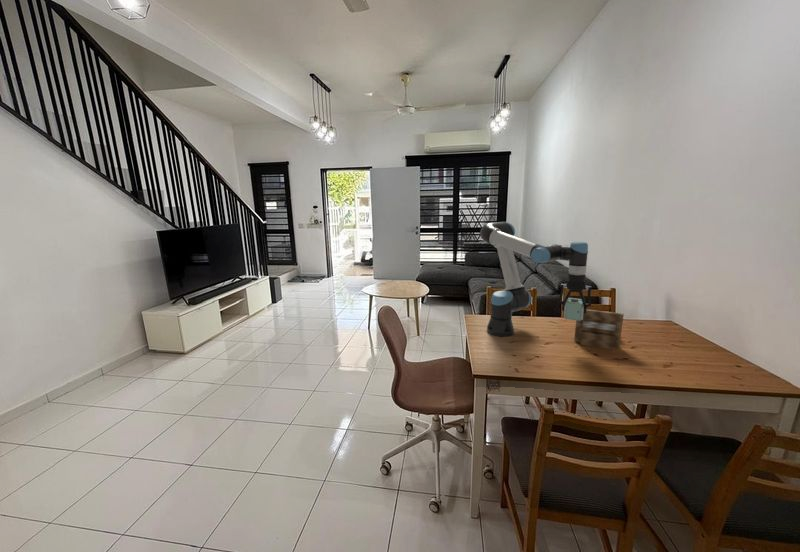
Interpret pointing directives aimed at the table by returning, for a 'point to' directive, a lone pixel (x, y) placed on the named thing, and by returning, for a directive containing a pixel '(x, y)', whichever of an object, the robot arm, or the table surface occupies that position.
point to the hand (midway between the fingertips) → (573, 317)
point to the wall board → (599, 329)
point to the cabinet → (573, 309)
